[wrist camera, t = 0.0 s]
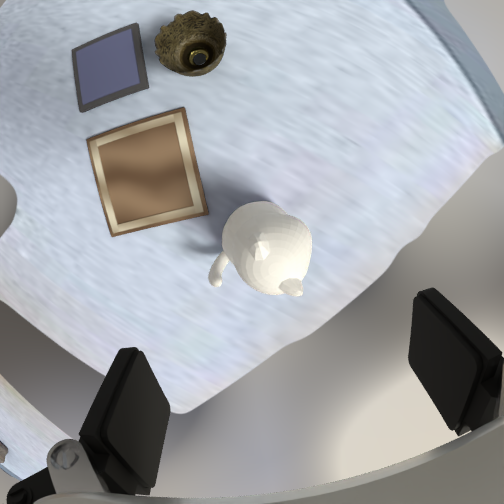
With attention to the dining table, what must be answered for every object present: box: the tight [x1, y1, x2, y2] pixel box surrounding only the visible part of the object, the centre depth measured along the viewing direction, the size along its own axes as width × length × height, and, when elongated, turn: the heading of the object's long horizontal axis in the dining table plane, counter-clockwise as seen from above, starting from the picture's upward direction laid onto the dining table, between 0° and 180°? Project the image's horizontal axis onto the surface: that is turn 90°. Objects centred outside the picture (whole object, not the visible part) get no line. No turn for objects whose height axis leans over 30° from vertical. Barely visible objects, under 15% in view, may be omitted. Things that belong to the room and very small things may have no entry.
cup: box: [155, 11, 226, 77], centre depth 29 cm, size 8×7×8 cm
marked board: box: [87, 108, 209, 237], centre depth 37 cm, size 14×14×1 cm
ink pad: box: [72, 23, 149, 113], centre depth 32 cm, size 10×10×1 cm
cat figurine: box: [208, 201, 312, 296], centre depth 34 cm, size 9×12×15 cm
